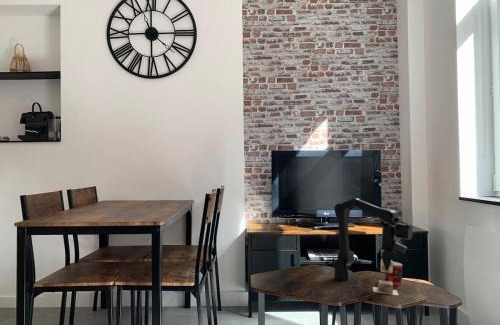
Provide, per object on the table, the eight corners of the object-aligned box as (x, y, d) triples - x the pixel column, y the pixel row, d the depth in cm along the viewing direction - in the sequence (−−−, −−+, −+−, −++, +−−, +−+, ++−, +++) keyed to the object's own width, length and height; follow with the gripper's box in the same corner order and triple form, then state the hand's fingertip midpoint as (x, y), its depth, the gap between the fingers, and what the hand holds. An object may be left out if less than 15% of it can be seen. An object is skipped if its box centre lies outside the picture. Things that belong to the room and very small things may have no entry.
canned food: (386, 281, 200) (387, 260, 200) (402, 284, 196) (403, 263, 196) (382, 284, 193) (384, 263, 194) (399, 288, 189) (400, 266, 189)
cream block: (379, 291, 178) (379, 283, 178) (378, 288, 184) (378, 279, 184) (392, 293, 177) (393, 285, 177) (391, 290, 182) (391, 281, 183)
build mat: (373, 292, 178) (373, 291, 178) (372, 288, 186) (372, 286, 186) (398, 296, 175) (398, 295, 175) (396, 291, 183) (396, 290, 183)
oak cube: (381, 271, 179) (381, 261, 179) (380, 269, 183) (381, 258, 184) (392, 273, 177) (393, 262, 177) (391, 270, 182) (391, 260, 182)
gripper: (409, 241, 170) (407, 276, 169) (403, 235, 188) (401, 266, 187) (383, 238, 173) (381, 272, 172) (380, 232, 191) (378, 263, 190)
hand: (386, 269), depth 180 cm, fingers closed on oak cube, 5 cm apart
